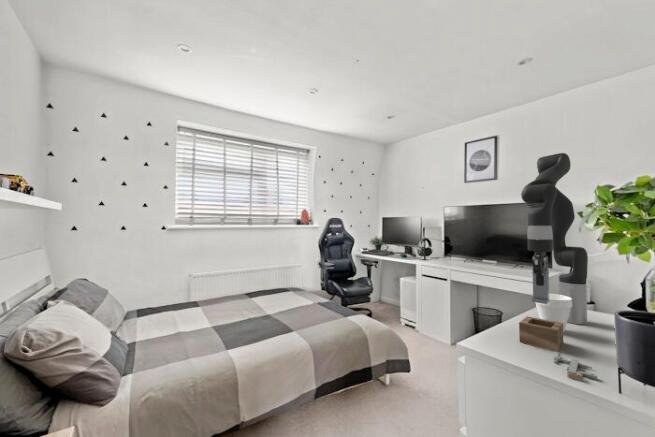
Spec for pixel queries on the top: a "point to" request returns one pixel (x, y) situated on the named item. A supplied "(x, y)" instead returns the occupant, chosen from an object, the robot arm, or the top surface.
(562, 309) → the cup
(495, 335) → the top surface
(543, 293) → the grey upright bar
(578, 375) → the clamp
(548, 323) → the well block
